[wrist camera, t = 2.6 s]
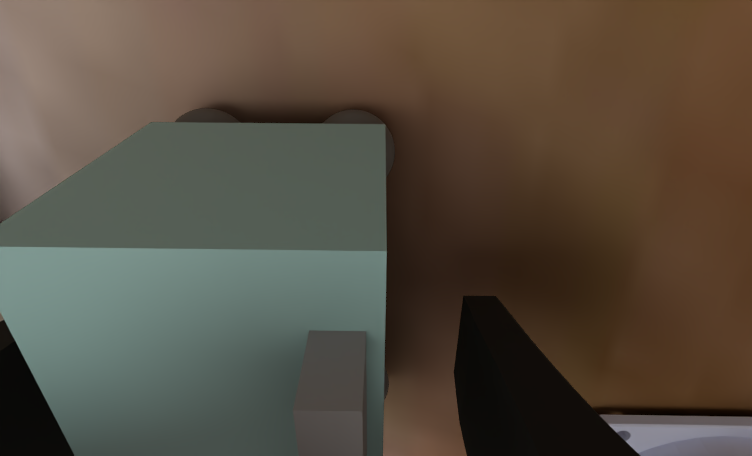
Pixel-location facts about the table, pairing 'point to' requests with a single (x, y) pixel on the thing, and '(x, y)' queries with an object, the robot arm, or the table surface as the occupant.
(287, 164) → the teal rolling suitcase
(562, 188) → the table surface
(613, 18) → the table surface
